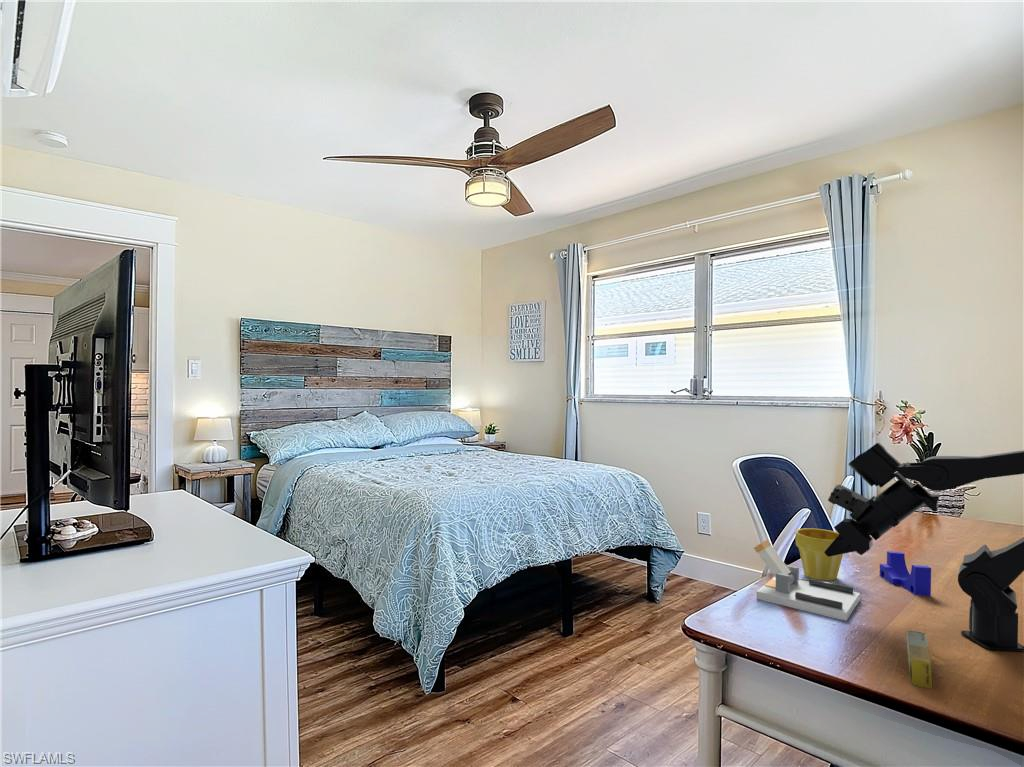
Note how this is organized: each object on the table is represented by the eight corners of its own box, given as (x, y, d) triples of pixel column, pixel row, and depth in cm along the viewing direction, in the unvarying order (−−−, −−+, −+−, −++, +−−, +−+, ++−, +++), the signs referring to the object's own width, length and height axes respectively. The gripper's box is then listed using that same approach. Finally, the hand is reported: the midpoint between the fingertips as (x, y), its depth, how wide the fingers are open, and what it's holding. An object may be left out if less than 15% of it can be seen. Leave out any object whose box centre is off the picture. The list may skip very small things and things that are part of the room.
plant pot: (819, 585, 125) (820, 540, 125) (784, 570, 135) (785, 529, 135) (857, 582, 128) (858, 538, 128) (820, 567, 138) (821, 527, 138)
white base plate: (859, 600, 117) (860, 575, 117) (846, 620, 106) (846, 593, 106) (776, 581, 127) (776, 559, 127) (756, 598, 117) (756, 574, 117)
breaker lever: (797, 578, 120) (767, 539, 124) (790, 585, 117) (760, 543, 120) (789, 583, 121) (760, 543, 125) (783, 589, 118) (753, 548, 121)
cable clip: (879, 576, 133) (880, 550, 133) (900, 577, 132) (901, 551, 132) (907, 595, 121) (907, 566, 121) (930, 596, 121) (931, 568, 121)
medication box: (906, 653, 94) (906, 629, 94) (926, 657, 92) (926, 632, 93) (909, 685, 84) (909, 658, 84) (932, 691, 82) (932, 662, 82)
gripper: (865, 468, 119) (806, 514, 126) (847, 478, 104) (782, 529, 111) (911, 511, 114) (847, 557, 120) (899, 528, 99) (828, 578, 106)
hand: (826, 554), depth 115 cm, fingers closed
